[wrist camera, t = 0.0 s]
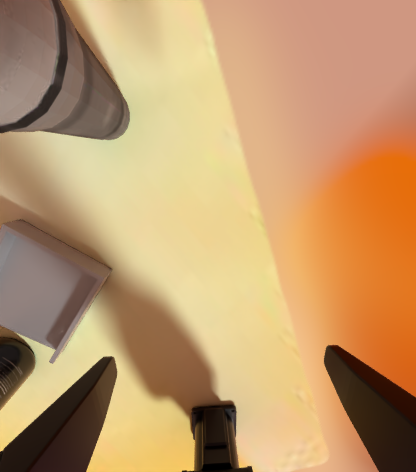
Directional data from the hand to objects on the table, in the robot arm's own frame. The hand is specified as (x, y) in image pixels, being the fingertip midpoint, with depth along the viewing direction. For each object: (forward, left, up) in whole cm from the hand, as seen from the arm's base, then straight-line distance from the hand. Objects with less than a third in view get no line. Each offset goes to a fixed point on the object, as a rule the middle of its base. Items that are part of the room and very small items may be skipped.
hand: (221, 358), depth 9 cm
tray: (-5, +19, -15) cm, 25 cm away
